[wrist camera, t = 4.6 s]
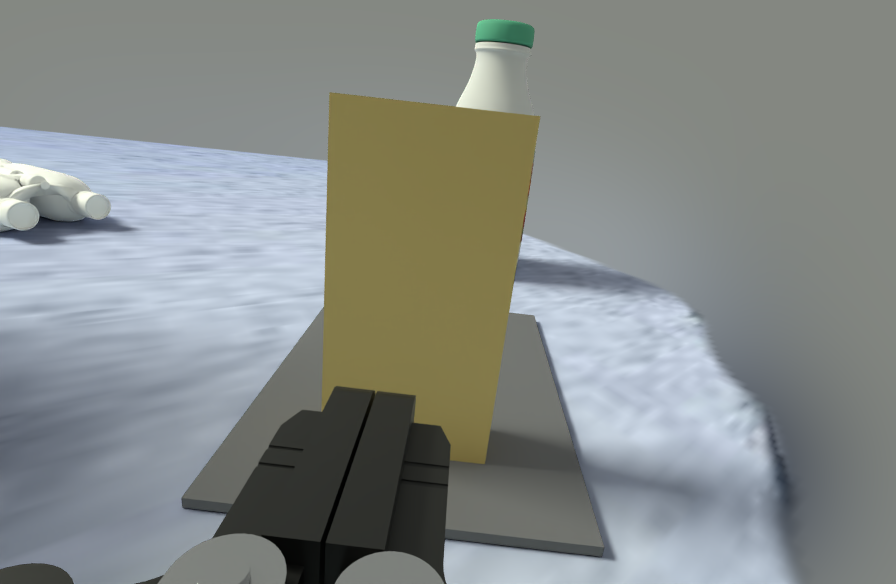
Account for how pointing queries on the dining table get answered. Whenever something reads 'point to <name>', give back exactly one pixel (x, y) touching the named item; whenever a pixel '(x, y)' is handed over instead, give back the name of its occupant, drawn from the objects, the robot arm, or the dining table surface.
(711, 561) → the dining table surface
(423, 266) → the box
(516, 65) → the milk bottle
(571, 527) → the mat
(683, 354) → the dining table surface
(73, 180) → the binoculars
